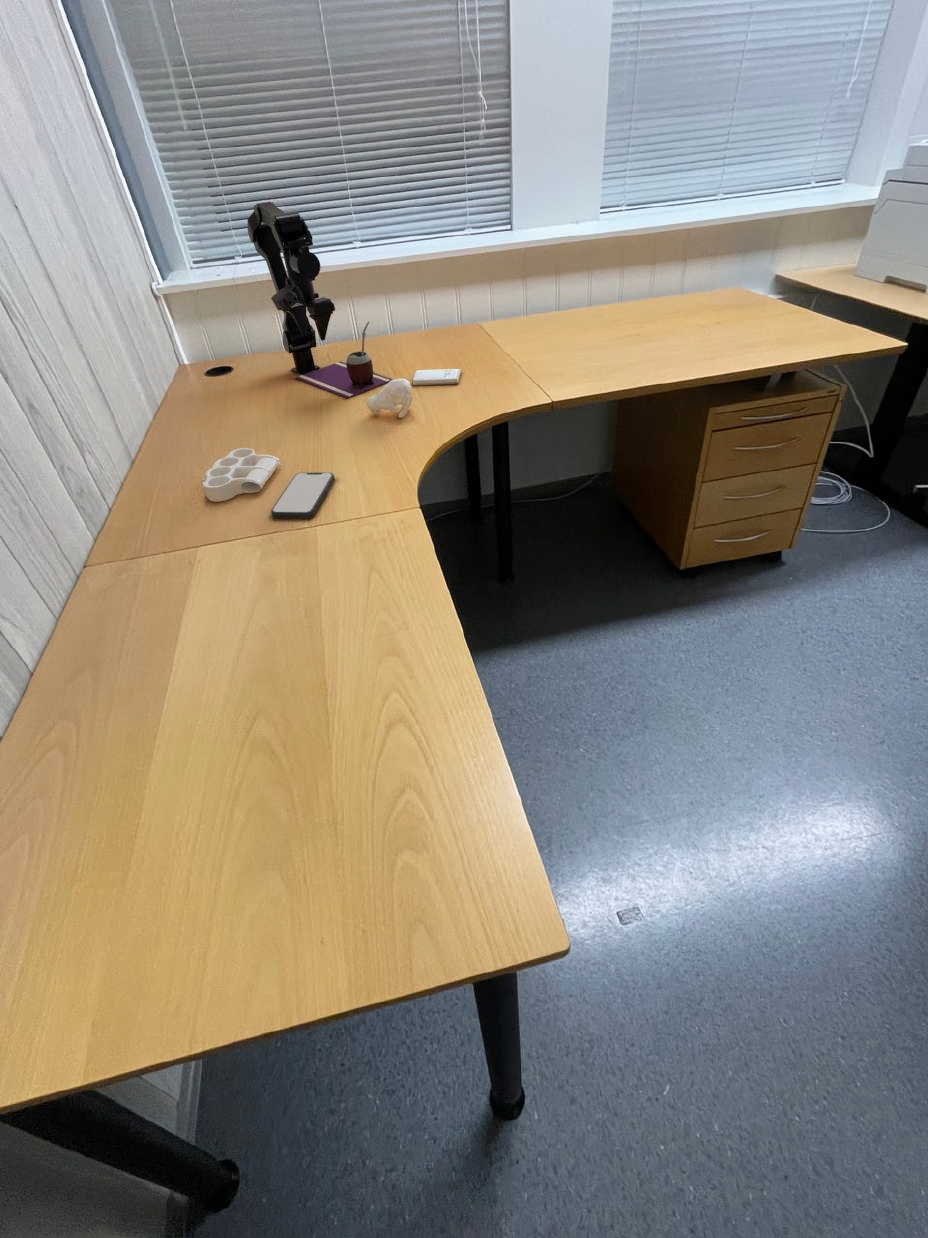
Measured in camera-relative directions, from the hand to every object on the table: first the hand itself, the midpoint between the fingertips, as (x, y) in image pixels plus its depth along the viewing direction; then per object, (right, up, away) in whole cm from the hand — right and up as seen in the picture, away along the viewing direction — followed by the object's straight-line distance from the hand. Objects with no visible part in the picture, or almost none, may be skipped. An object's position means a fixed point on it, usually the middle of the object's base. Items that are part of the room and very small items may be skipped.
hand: (313, 337), depth 163 cm
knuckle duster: (-8, -46, -32) cm, 57 cm away
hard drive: (+33, -9, +6) cm, 35 cm away
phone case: (+8, -52, -39) cm, 66 cm away
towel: (+6, -7, +11) cm, 14 cm away
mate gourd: (+13, -10, +6) cm, 18 cm away
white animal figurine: (+22, -24, -10) cm, 35 cm away
